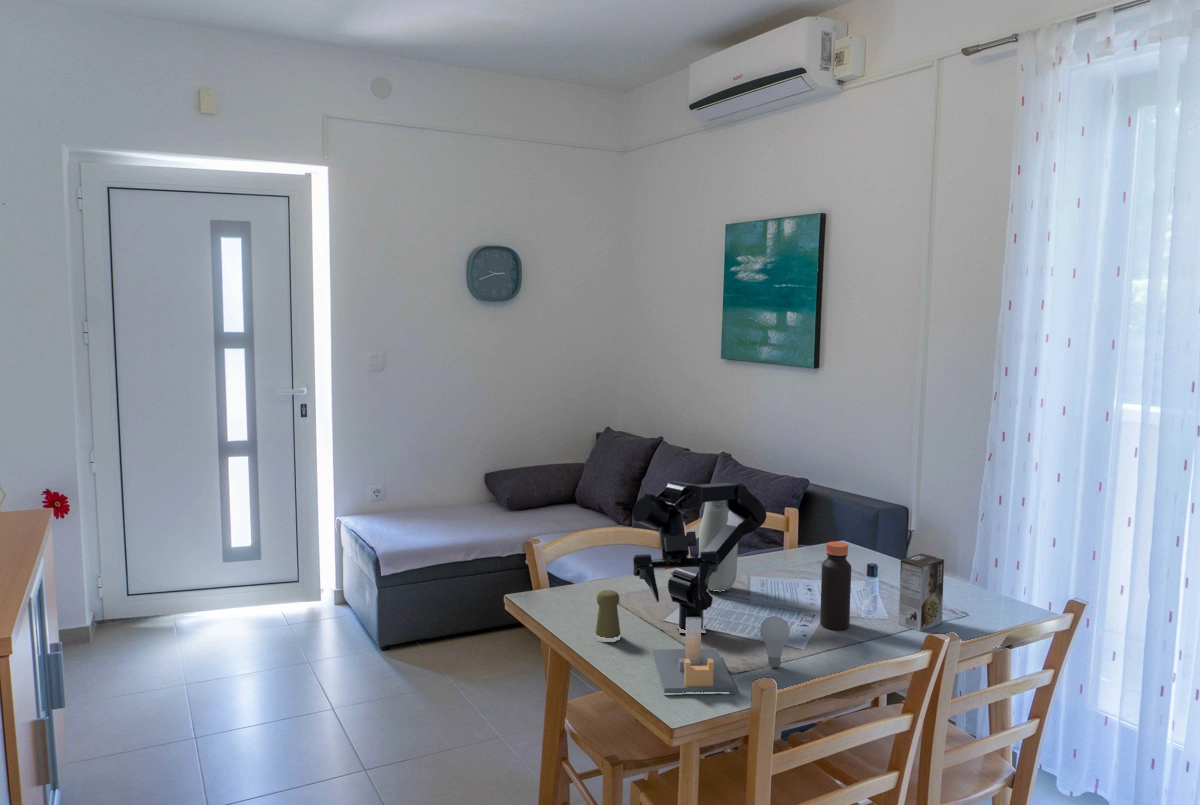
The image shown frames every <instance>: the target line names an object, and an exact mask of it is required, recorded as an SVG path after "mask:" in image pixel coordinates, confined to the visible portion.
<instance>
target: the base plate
mask: <svg viewBox="0 0 1200 805" xmlns="http://www.w3.org/2000/svg"><path fill="white" fill-rule="evenodd" d="M653 656H654V659H653V661H654V660H655V663H656V666H655V668H656V667H657V669H656V671H657V670H658V673H659V676H658V678H659V677H660V680H661V683H662V686H661V688H662V687H663V690H664V693H683V692H684V693H686V692H694V693H695V692H700V693H701V692H703V693H704V692H729V693H735V694H736V685H735V683H734V681H733V678H732V677H731V675H730V673H729V672H728V669H727V667H726V665H725V663H724V661H723V659H722V657H721V655H720V653H719V651H718V649H717V648H715V647H714V648H701V659H700V665H698V666H691V662H690V660H689V659H685V648H672V649H671V648H670V649H669V648H665V649H663V648H662V649H659V648H658V649H652V657H653ZM655 663H654V664H655ZM658 673H657V674H658ZM660 680H659V681H660ZM661 683H660V684H661ZM663 690H662V691H663ZM664 693H663V694H664Z"/></svg>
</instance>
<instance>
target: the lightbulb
mask: <svg viewBox="0 0 1200 805" xmlns="http://www.w3.org/2000/svg"><path fill="white" fill-rule="evenodd" d="M759 632H760V636H761V638H762V641H763V642H764V644H765V647H766V655H767V662H768V663H767V664H768V665H769V666H770V667H771V668H777V667H779V666H781V661H782V660H781V659H782V656H783V650H784V647H785V645H786V643H787V642H788V640H789V638H790V635H791V629H790V625H789V624H788V622H787V620H785V619H784V618H783V617H780V616H776V615H772V616H768V617H767V618H765V619H764V620H763V622H761V625H760V630H759Z"/></svg>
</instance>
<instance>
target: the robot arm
mask: <svg viewBox="0 0 1200 805" xmlns="http://www.w3.org/2000/svg"><path fill="white" fill-rule="evenodd" d="M723 500H726V506H727V507H728V509H729V510H730V511H729V512H728V518H727V524H726V525H725V526H724V527H723V528H722V530H721V531H720V532H719V533H718V534H717V535H716V537H715V538H714V539H713V540H712V541H711V542H710V544H709V545H708V546H707V547H706V548H705V550H704V551H703V552H700V554H699V553H698V556H697V557H689V554H690V551H689V550H690V549H689V548H691V547H693V548H694V547H697V545H698V544H697V534H696V531H695V530H694V531H685V530H686V529H685V523H684V522H685V521H688V520H689V516H688V515H687V514H686V513H684V512H683V510H693V509H695V508H699V507H700V506H701V505H702V504H705V502H712V501H723ZM631 514H632V518H633V520H634V521H636V522H637V523H640V524H642V525H644V526H646V527H648V528H651V529H653V530H657V529H658V532H659V533H658V534H659V541H660V551H661V553H660V554H661V559H652V555H651V554H649V553H648V554H635V555H634V556H633V557H632V575H633V576H634V577H639V579H640V580H644V582H645V583H646V584H647V586H648V587H649V589H650V591H651V593H652V595H653V597H654V599H655V600H656V601H655V602H656V603H659V602H660V598H659V597H660V596H659V589H658V585H657V581H656V576H655V575H656V574H655V569H673V568H675V570H674V571H672V572H671V573H670V574H671V576H670V577H669V579H668V581H667V582H668V583H667V587H668V588H667V589H668V593H669V596H670V598H671V602H674V603H677V604H678V622H679V627H680V628H681V629H684V630H686V617H701V629H702V628H703V625H704V611H707V610H708V609H709V608H711V607H712V603H713V601H714V598H713V596H712V595H711V594H710V593H709V592H708V591H707V590H709V589H708V583H709V577H710V576H711V575H712V573H713V572H716V571H717V569H718V566H719V564H720V563H721V562H722V561H723V560H724V558H725V557H726V556H727V555H728V554H729V552H730V551H731V550H732V549H733V548H734V546H735V545H736V544H737V543H738V544H739V542H740V541H741V540H742V538H743V537H744V536H746V535H749V534H751V533H755V532H756V531H757V530H758V529H759V528H761V526H763V524H765V522H766V519H767V511H766V508H765V506H764V505H763V504H762V503H761V501H760V500H759V499H758V498H757V497H756V496H755V495H754V494H752V492H750V491H749V489H748V488H747V487H746V486H745V485H744V484H743V483H738V482H734V481H731V480H730V481H727V482H718V483H717V482H715V483H704V484H693V483H687V482H682V481H676V480H670V481H669V482H668V483H667V485H666V487H664V488H663V489H662V490H660V491H659V493H657V494H656V495H654V494H653V493H648V492H645V493H644V496H643V497H641V498H639V499H638V500H637V501H636V502H635V504H633V507H632V510H631Z"/></svg>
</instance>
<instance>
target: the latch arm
mask: <svg viewBox="0 0 1200 805" xmlns="http://www.w3.org/2000/svg"><path fill="white" fill-rule="evenodd" d="M684 649H685V659H689V660H690V662H691V666H698V665H700V659H701V649H702V634H701V617H686V634H685V648H684Z"/></svg>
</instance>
